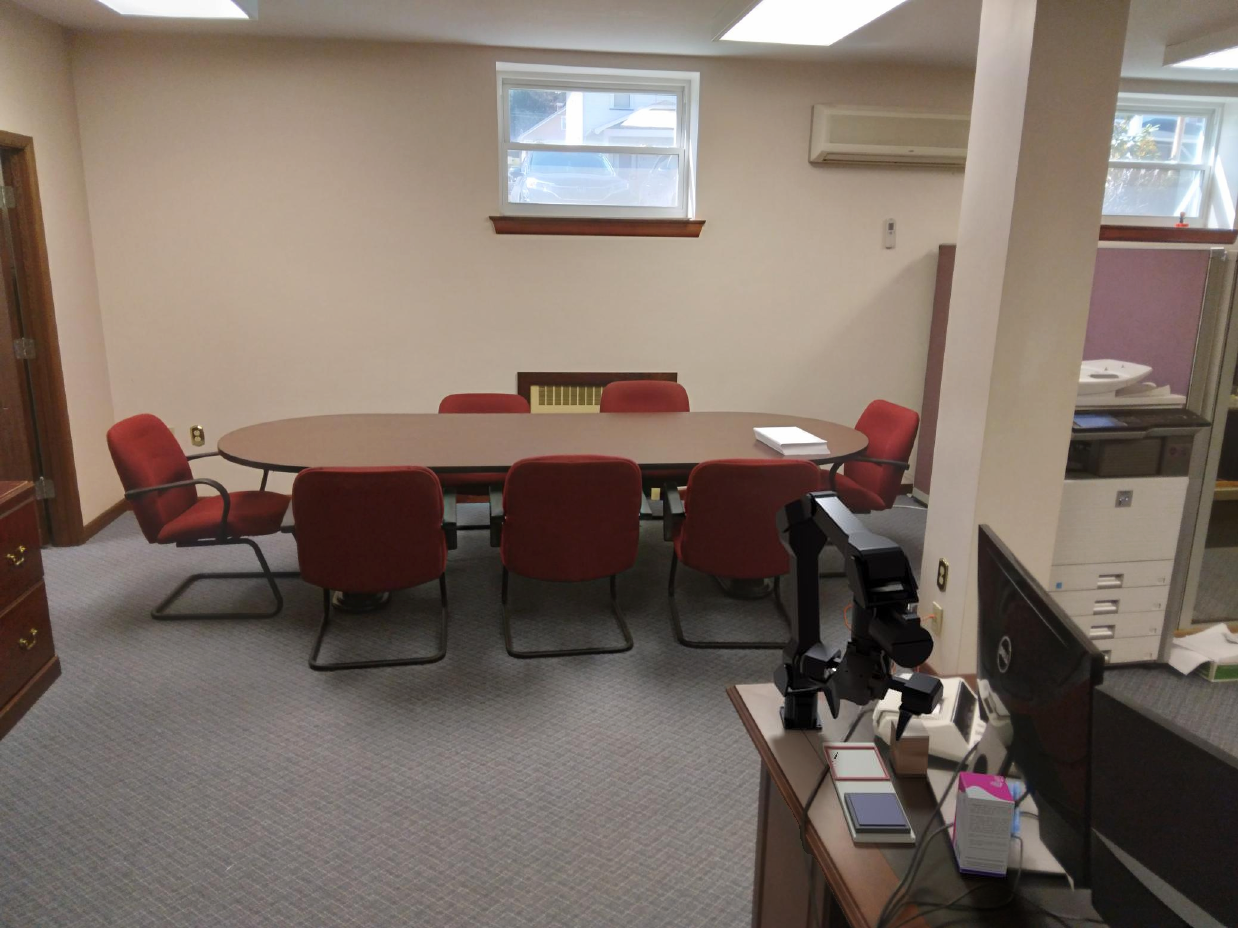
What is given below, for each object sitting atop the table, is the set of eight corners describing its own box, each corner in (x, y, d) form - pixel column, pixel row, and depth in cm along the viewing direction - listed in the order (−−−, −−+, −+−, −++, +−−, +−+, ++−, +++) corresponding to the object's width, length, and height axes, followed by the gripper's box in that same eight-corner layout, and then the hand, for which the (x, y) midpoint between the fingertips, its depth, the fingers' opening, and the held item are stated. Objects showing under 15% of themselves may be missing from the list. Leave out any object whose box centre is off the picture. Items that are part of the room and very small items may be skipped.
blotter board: (822, 746, 131) (822, 736, 130) (873, 746, 130) (874, 736, 130) (853, 841, 109) (854, 830, 109) (915, 842, 109) (916, 830, 108)
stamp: (889, 759, 127) (891, 718, 125) (917, 759, 127) (920, 718, 125) (897, 776, 123) (899, 735, 121) (926, 776, 122) (929, 735, 120)
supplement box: (1007, 878, 102) (1016, 803, 99) (959, 872, 103) (966, 798, 100) (996, 846, 108) (1003, 774, 105) (950, 841, 109) (956, 769, 106)
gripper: (784, 635, 108) (781, 733, 112) (922, 677, 97) (913, 784, 101) (818, 605, 116) (814, 697, 121) (949, 640, 105) (939, 740, 110)
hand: (866, 728), depth 113 cm, fingers open, 9 cm apart
